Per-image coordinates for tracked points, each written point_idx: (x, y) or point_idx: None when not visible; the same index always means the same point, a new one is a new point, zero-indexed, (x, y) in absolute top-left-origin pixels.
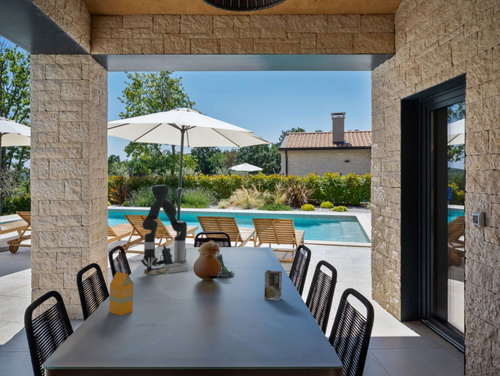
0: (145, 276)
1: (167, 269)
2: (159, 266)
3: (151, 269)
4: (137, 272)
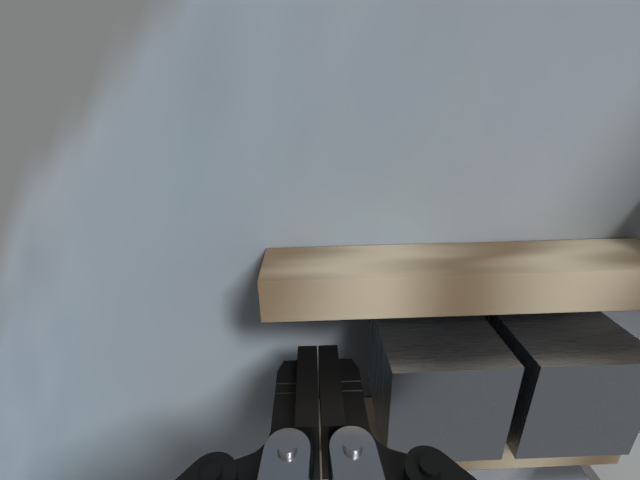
0: (202, 451)
1: (611, 456)
2: (586, 394)
3: (381, 365)
4: (147, 172)
